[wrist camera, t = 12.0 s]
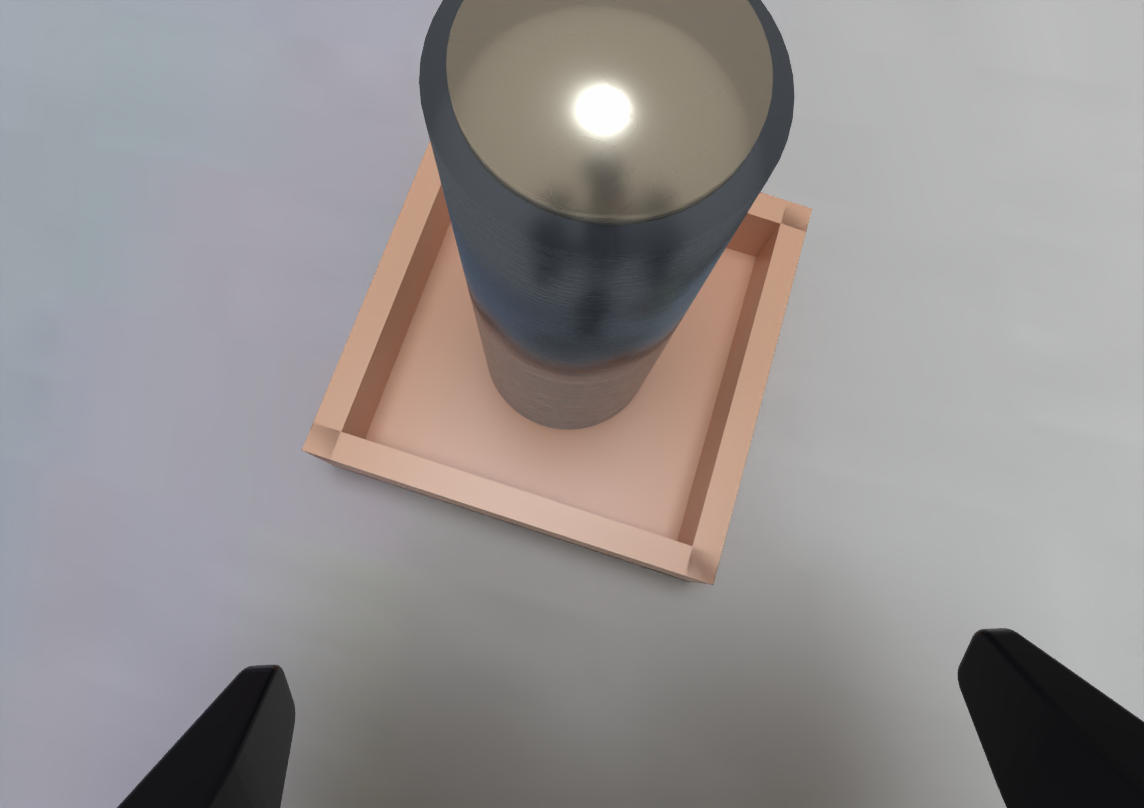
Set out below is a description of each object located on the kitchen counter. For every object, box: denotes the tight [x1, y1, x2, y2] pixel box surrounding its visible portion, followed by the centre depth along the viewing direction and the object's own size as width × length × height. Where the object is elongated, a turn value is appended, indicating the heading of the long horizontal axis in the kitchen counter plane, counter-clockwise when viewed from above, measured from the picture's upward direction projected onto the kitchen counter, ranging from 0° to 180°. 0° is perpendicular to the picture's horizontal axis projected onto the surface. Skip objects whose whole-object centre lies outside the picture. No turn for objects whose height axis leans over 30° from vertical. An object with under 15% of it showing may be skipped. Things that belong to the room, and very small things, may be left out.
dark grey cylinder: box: [419, 0, 794, 430], centre depth 16 cm, size 5×5×13 cm
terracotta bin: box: [302, 142, 812, 585], centre depth 22 cm, size 12×12×3 cm
